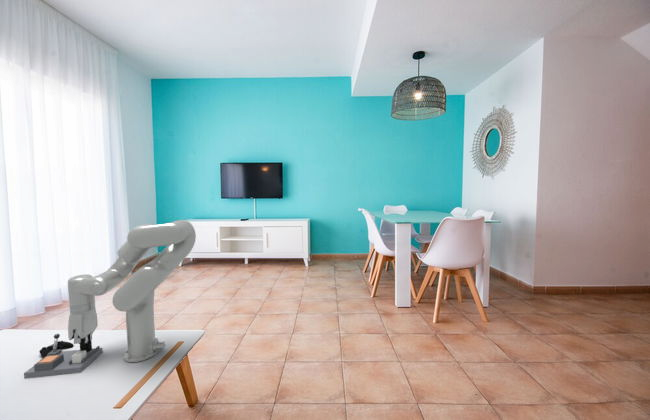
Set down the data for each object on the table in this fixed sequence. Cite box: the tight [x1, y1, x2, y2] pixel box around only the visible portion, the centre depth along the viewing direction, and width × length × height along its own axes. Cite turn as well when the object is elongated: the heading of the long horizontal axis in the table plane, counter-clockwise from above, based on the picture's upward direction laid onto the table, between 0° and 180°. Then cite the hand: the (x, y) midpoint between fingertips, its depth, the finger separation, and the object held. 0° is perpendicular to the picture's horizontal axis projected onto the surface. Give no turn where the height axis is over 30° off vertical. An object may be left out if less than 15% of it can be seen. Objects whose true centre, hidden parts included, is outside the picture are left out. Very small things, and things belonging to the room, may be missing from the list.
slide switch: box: [72, 350, 86, 363], centre depth 106 cm, size 3×3×3 cm
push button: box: [38, 355, 59, 364], centre depth 103 cm, size 4×4×2 cm
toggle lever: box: [53, 333, 61, 351], centre depth 111 cm, size 2×2×6 cm
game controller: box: [39, 340, 75, 358], centre depth 116 cm, size 10×5×7 cm
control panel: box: [23, 345, 104, 379], centre depth 107 cm, size 18×13×5 cm
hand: (86, 351), depth 110 cm, fingers closed
